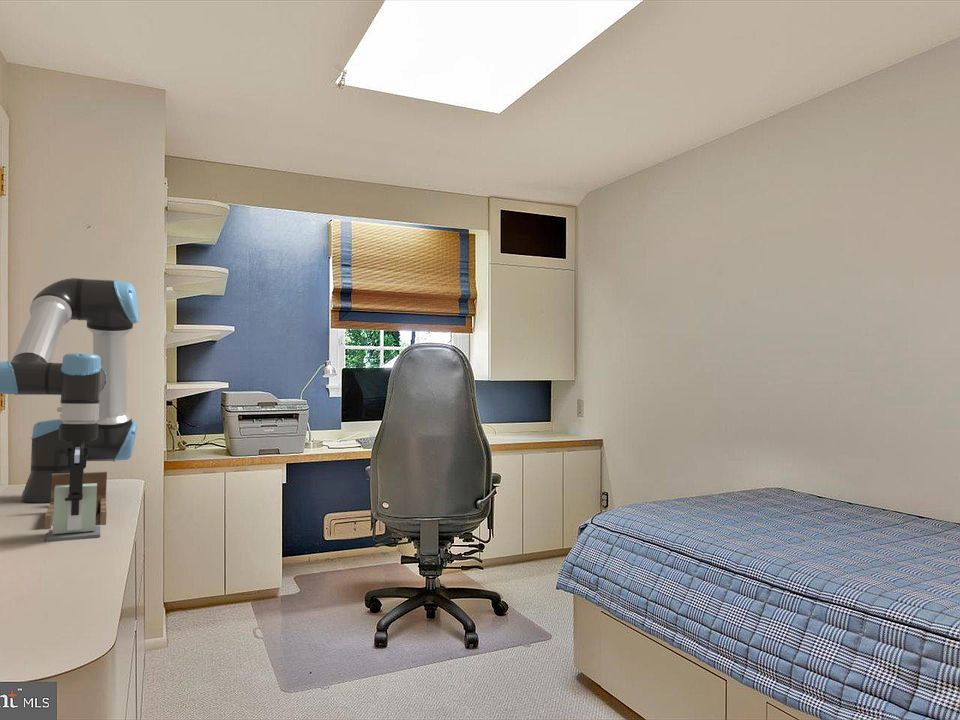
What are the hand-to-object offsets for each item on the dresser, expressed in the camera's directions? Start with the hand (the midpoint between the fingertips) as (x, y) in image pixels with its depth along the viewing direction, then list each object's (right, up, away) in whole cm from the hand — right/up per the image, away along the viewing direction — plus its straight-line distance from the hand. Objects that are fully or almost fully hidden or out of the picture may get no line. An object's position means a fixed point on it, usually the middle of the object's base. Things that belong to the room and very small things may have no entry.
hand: (74, 527), depth 149 cm
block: (0, -1, 0) cm, 1 cm away
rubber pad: (0, -2, 0) cm, 2 cm away
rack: (-10, -2, +18) cm, 21 cm away
